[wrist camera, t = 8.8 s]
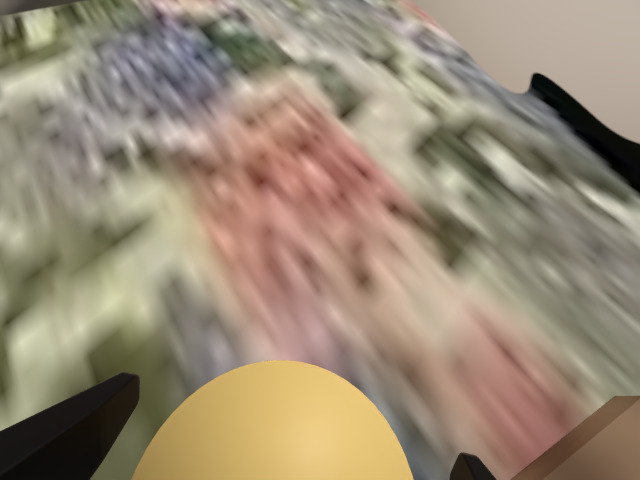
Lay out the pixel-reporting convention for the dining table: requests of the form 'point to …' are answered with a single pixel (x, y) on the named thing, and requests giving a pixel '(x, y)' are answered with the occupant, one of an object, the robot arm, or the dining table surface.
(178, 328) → the dining table surface
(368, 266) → the dining table surface
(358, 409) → the post
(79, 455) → the robot arm
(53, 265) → the dining table surface
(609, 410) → the stand
